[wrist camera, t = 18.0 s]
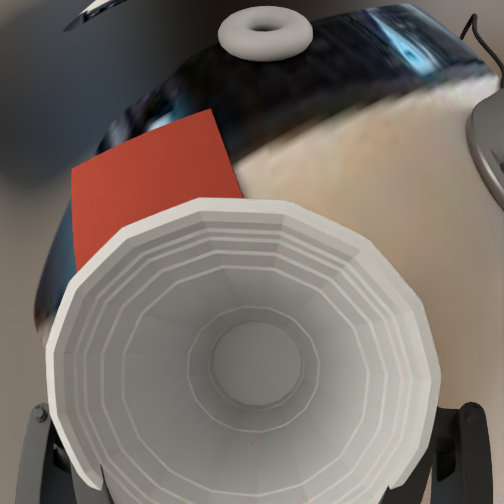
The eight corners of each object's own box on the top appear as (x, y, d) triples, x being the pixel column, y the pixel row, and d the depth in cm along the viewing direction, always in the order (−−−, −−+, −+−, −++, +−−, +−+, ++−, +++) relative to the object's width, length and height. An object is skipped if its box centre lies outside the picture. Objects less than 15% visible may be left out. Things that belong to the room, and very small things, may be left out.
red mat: (73, 171, 23) (71, 169, 22) (211, 111, 23) (210, 108, 23) (82, 295, 19) (79, 294, 19) (255, 233, 20) (255, 231, 19)
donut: (236, 79, 24) (329, 57, 24) (230, 52, 21) (332, 32, 21) (211, 35, 27) (289, 18, 27) (205, 13, 24) (288, -4, 24)
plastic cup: (228, 468, 15) (174, 591, 4) (146, 332, 18) (3, 318, 6) (374, 389, 16) (494, 449, 4) (289, 249, 19) (304, 126, 7)
